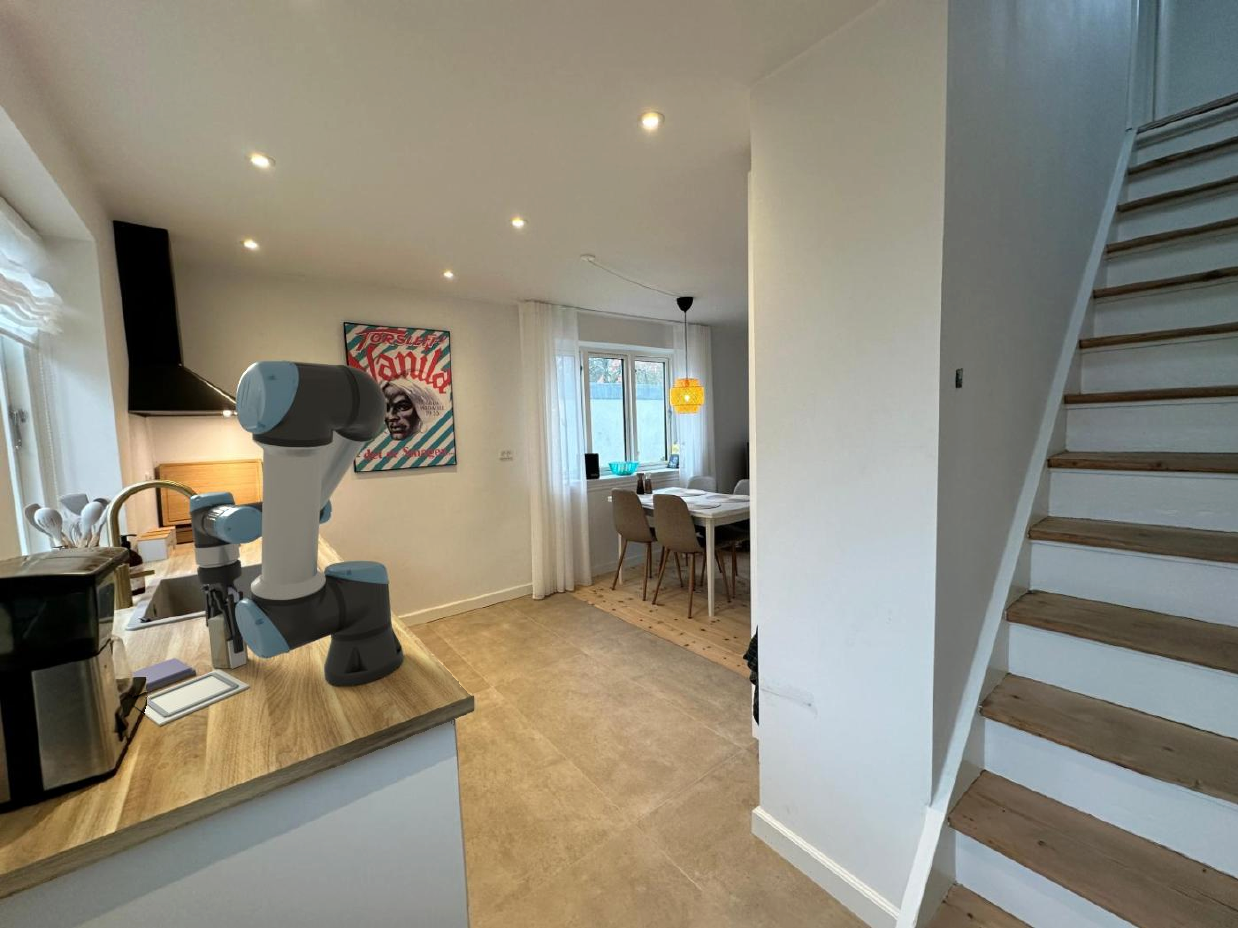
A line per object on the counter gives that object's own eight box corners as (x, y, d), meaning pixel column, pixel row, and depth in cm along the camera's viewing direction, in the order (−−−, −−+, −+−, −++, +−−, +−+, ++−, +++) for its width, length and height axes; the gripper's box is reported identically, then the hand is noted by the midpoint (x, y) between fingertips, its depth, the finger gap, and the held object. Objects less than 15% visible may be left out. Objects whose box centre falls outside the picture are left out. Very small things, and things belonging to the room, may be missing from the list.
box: (227, 669, 107) (221, 620, 106) (211, 667, 108) (205, 619, 107) (249, 657, 112) (244, 611, 111) (234, 656, 113) (229, 610, 112)
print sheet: (249, 687, 99) (249, 683, 99) (159, 725, 87) (158, 722, 87) (218, 670, 107) (218, 667, 106) (131, 704, 95) (131, 701, 95)
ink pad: (195, 673, 106) (195, 666, 105) (133, 697, 97) (132, 689, 97) (177, 663, 111) (176, 656, 110) (116, 684, 102) (115, 677, 102)
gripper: (260, 563, 106) (271, 664, 108) (219, 552, 116) (230, 644, 118) (218, 573, 100) (231, 680, 102) (179, 561, 110) (191, 658, 112)
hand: (230, 661), depth 110 cm, fingers open, 7 cm apart
